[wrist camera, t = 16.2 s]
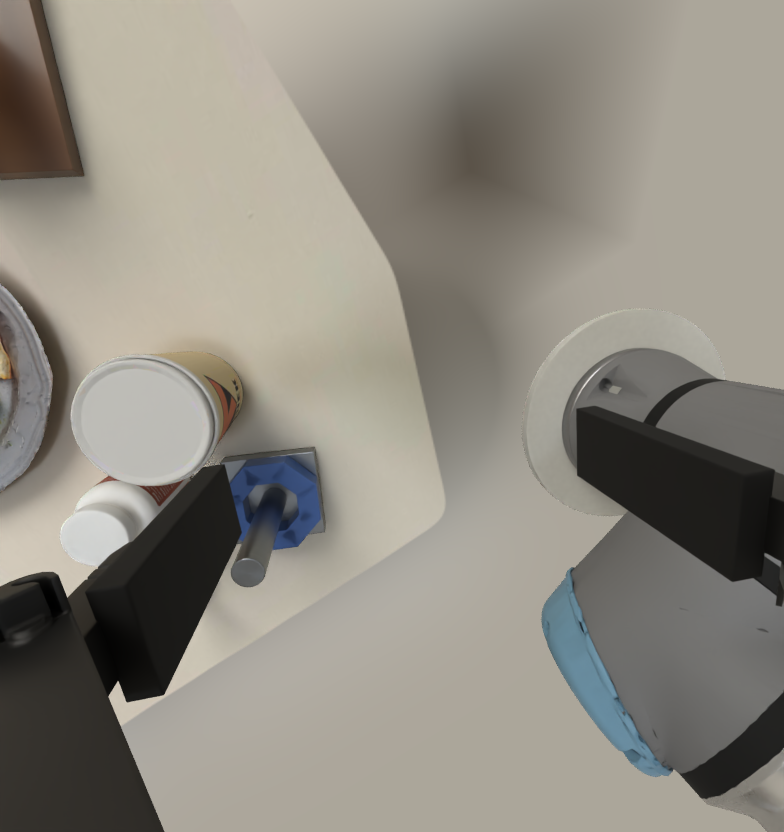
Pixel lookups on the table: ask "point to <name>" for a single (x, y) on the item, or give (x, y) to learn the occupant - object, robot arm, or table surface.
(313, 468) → the post
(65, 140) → the brown square peg stand
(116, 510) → the pill bottle
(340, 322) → the table surface
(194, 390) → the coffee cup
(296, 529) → the ring
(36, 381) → the food plate
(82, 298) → the table surface
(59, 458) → the table surface
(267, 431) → the table surface
